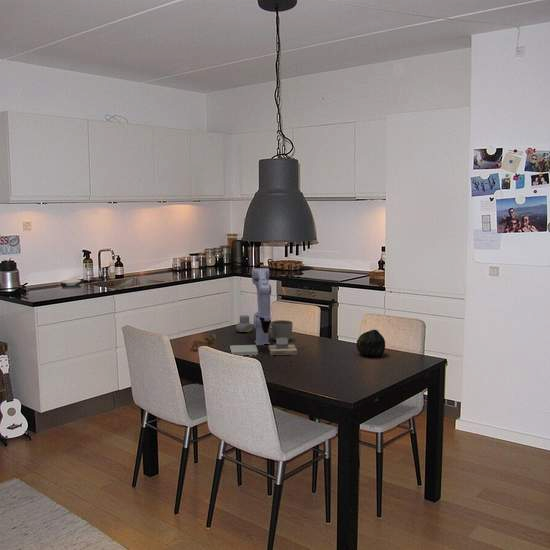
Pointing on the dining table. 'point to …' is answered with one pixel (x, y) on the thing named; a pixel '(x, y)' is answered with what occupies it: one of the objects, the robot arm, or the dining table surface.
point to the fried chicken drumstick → (204, 342)
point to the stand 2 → (283, 350)
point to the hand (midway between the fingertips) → (265, 331)
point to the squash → (371, 343)
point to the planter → (281, 329)
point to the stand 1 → (244, 350)
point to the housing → (282, 343)
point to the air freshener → (244, 324)
